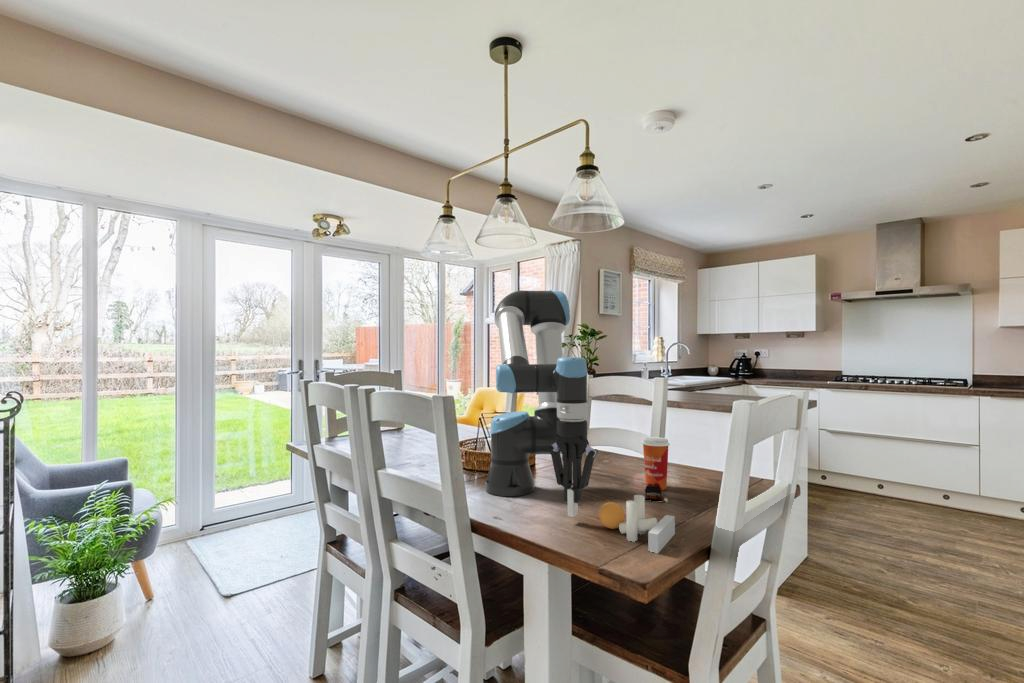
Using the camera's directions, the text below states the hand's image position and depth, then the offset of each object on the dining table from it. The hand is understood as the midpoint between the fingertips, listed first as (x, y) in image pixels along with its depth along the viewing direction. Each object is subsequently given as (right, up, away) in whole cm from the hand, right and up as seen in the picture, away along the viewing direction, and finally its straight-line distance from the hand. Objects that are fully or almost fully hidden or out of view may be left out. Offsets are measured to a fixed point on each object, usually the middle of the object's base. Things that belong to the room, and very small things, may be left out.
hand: (572, 514), depth 118 cm
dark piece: (+25, -3, +19) cm, 32 cm away
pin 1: (+12, -2, -11) cm, 16 cm away
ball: (+9, +1, -4) cm, 10 cm away
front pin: (+10, -1, -7) cm, 13 cm away
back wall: (+18, -2, -12) cm, 22 cm away
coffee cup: (+30, -3, +30) cm, 42 cm away
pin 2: (+15, -2, -7) cm, 16 cm away
